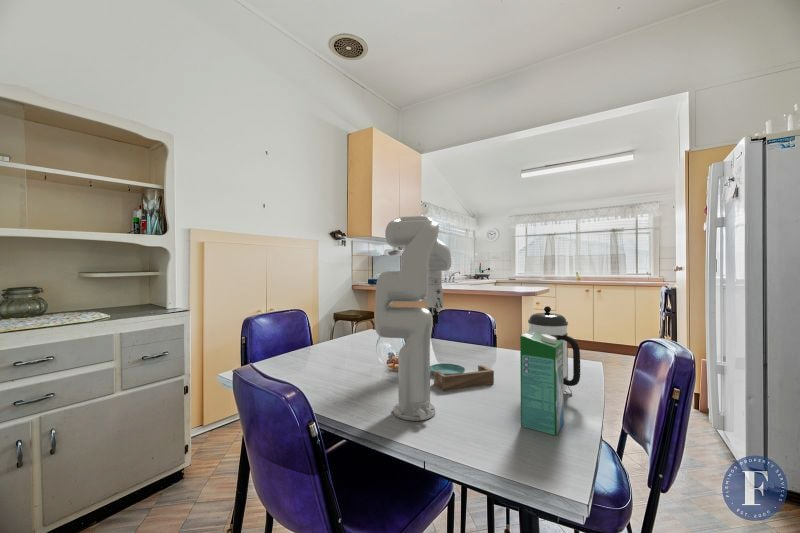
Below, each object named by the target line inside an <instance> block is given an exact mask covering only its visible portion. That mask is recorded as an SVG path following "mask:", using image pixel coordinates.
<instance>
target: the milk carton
mask: <svg viewBox="0 0 800 533" xmlns="http://www.w3.org/2000/svg"><path fill="white" fill-rule="evenodd" d="M519 339H520V341H519V345H520V346H519V347H520V356H519V357H520V360H519V362H520V426H521V427H524V428H527V429H530V430H535V431H537V432H542V433H545V434H549V435H552V436H553V435H554V436H558V434H559V432H560V429H562V426H563V425H564V421H565V419H564V415H565V414H564V413H565V412H564V391H563V342H562V341H559V340H557V339H556V338H555V337H553V336H551V335H547V334H539V333H536V332H533V331H529V330H528V331H526V332H524V333H523V334H521V335H520V337H519Z"/></svg>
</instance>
